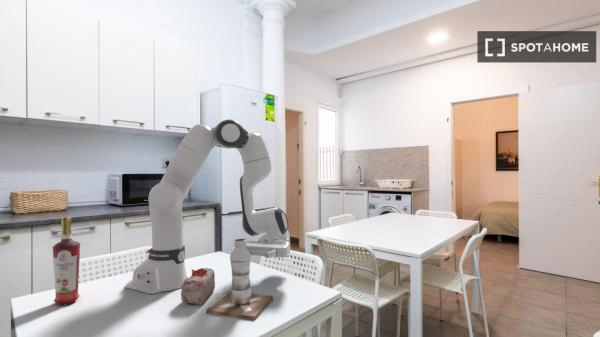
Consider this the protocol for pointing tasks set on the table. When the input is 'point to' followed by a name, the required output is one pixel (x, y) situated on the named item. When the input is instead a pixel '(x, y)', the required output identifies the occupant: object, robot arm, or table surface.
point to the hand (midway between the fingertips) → (254, 254)
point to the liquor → (66, 265)
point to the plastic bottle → (240, 273)
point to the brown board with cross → (240, 307)
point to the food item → (198, 286)
